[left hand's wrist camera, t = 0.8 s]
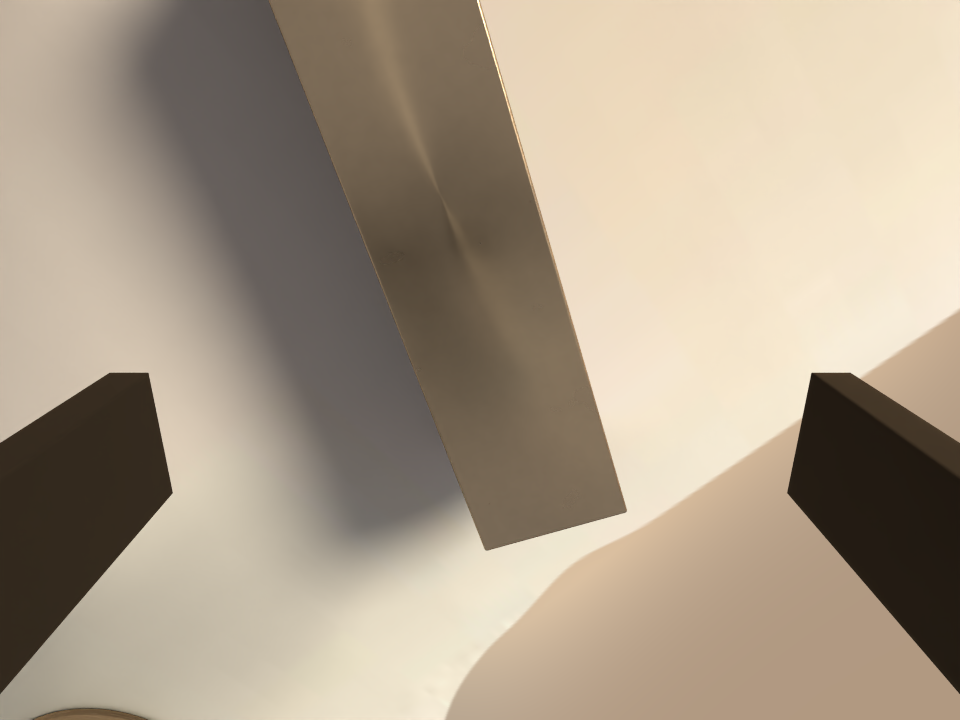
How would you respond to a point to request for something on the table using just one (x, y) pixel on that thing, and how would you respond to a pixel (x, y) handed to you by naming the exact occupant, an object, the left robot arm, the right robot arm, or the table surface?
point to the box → (459, 252)
